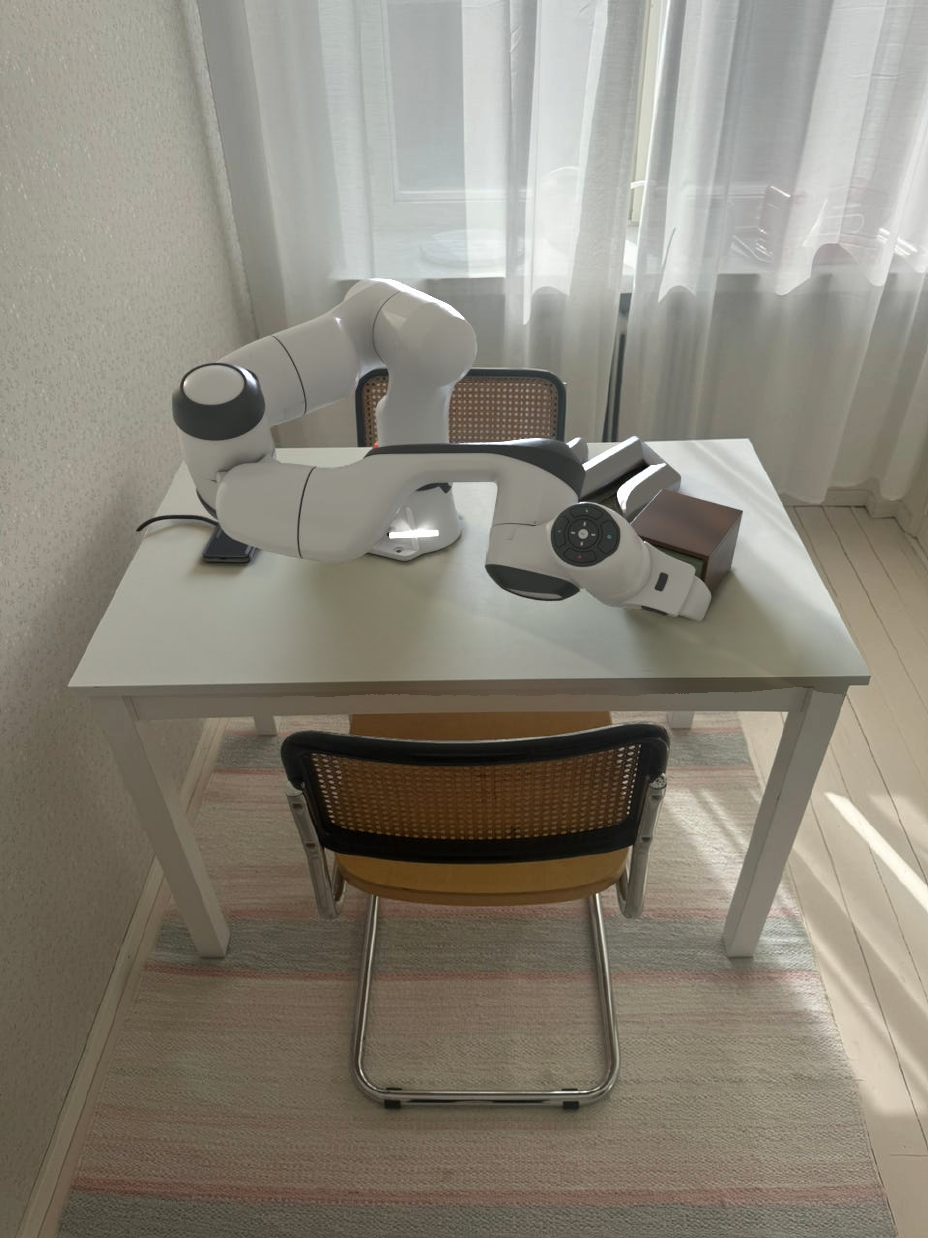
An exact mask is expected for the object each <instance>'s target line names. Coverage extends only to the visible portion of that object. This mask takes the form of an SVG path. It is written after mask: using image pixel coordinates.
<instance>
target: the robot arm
mask: <svg viewBox="0 0 928 1238" xmlns="http://www.w3.org/2000/svg"><path fill="white" fill-rule="evenodd" d="M477 353H478V341H477V334H476V332H475V329H474V328H473V326H472V325H471V323H470V322H469V321H468V320H467V319H466V318H465V317H464V316H463V315H461V313H460V312H459V311H457V310H456V309H455V308H454V307H452V306H451V305H449V304H448V303H446V302H444V301H442V300H439V299H437V298H434V297H432V296H430V295H428V294H427V293H424V292H421V291H419V290H416V289H414V288H412V287H410V286H408V285H405V284H402V283H401V282H399V281H396V280H392V279H385V278H364V279H362V280H359V281H358V282H356V283H355V284H354V285H352V286H351V287H350V289H348V291H347V293H346V294H345V296H344V298H343V300H342V302H340V303H339V304H337V305H336V306H334V307H333V308H331V309H330V310H329V311H326V312H325V313H323V314H322V315H319V316H317V317H315V318H314V319H310V320H308V321H305V322H302V323H299V324H297V325H294V326H291V327H289V328H286V329H283V330H280V331H278V332H276V333H273V334H270V335H266V336H264V337H261V338H259V339H256V340H254V341H252V342H250V343H248V344H245V345H243V346H241V347H239V348H237V349H236V350H234V351H231V352H230V353H229V354H226V355H225V356H223V357H221V358H220V359H218V360H216V361H215V362H210V363H209V362H208V363H204V364H201V365H197V366H195V367H193V368H192V369H190V370H189V371H187V372H186V373H185V374H183V376H182V377H181V378H179V380H178V381H177V382H176V383H175V385H174V386H173V390H172V396H171V411H172V412H171V413H172V419H173V422H174V423H175V425H176V430H177V438H178V442H179V443H178V444H179V448H180V451H181V455H182V459H183V461H184V463H185V465H186V466H187V469H188V472H189V475H190V477H191V479H192V482H193V484H194V486H195V492H196V496H197V498H198V501H199V502H200V503H201V505H202V507H203V508H204V509H205V511H206V512H207V513H208V514H209V515H210V516H211V517H212V518H213V519H212V518H209V517H207V516H204V515H203V516H202V515H198V514H164V515H159V516H155V517H150V518H149V519H147V520H145V521H143V522H142V523H141V524H139V526H138V527H137V528H136V529H135V532H137V533H139V532H141V531H143V530H144V529H145V528H147V526H149V525H151V524H154V523H156V522H160V521H165V520H166V521H167V520H197V521H202V522H205V523H208V524H211V525H213V526H215V527H217V525H218V523H219V524H220V526H221V528H222V529H223V531H224V532H225V533H226V534H227V535H228V536H229V537H231V538H232V539H234V540H237V541H239V542H242V543H245V544H247V545H250V546H253V547H256V549H258V550H261V551H266V552H270V553H272V554H277V555H282V556H285V557H289V558H295V559H299V560H307V561H314V562H320V563H338V564H342V563H349V562H353V561H355V560H357V559H359V558H361V557H363V556H364V555H366V554H367V553H368V554H373V555H376V556H380V557H385V558H388V559H393V560H397V561H402V562H406V561H411V560H413V559H415V558H417V557H420V556H421V555H423V554H428V553H432V552H436V551H440V550H441V549H444V548H446V547H448V546H450V545H452V544H453V543H454V542H456V541H457V540H458V539H459V537H460V536H461V534H462V530H463V525H462V523H461V520H460V518H459V514H458V511H457V506H456V502H455V496H454V491H453V485H454V483H493V484H495V485H496V497H495V502H494V503H495V505H494V510H493V515H492V520H491V527H490V529H489V534H488V541H487V546H486V554H485V560H484V561H485V563H484V569H485V571H486V573H487V574H488V576H489V577H490V579H491V580H492V581H493V582H494V583H495V584H496V585H497V586H498V587H499V588H500V589H502V590H504V591H506V592H508V593H509V594H513V595H515V596H518V597H521V598H525V599H528V600H533V601H538V602H539V601H540V602H560V601H564V600H567V599H569V598H571V597H574V596H575V595H577V594H578V593H580V592H581V590H582V589H584V590H585V591H586V592H587V593H588V594H590V595H591V596H592V597H593V598H595V600H597V601H599V602H600V603H601V604H604V605H606V606H608V607H612V608H626V609H631V610H633V609H635V610H644V611H647V612H652V613H655V612H656V614H658V613H659V615H661V614H663V615H662V616H669V617H672V618H677V617H678V616H680V617H683V618H686V619H689V620H692V621H694V622H702V621H703V619H704V618H705V616H706V614H707V611H708V608H709V606H710V603H711V601H712V597H711V593H710V591H709V590H708V588H707V586H706V585H705V584H704V582H703V581H702V580H700V579H699V578H698V577H696V576H695V568H694V567H693V566H692V565H690V564H688V563H685V562H684V561H682V560H679V559H677V558H674V557H672V556H670V555H668V554H665V553H663V552H661V551H659V550H658V549H656V548H655V547H653V546H652V545H650V544H649V543H647V542H646V541H644V542H643V540H642V539H641V538H640V537H639V536H638V535H637V533H636V531H635V530H634V529H633V527H632V526H631V525H630V524H629V523H628V522H627V521H626V520H625V519H624V518H623V517H622V516H621V515H619V514H618V513H616V510H614V509H611V508H609V507H607V506H606V505H603V504H600V503H599V504H597V503H592V502H580V503H578V502H579V500H580V496H581V492H582V488H583V484H584V480H585V476H586V471H585V469H584V467H583V465H582V463H581V461H580V459H579V458H578V456H577V455H576V453H575V452H574V451H573V450H572V449H571V447H570V446H569V445H567V442H564V441H561V440H557V439H553V438H539V437H537V438H525V439H517V440H516V439H515V440H509V441H497V442H495V441H494V442H450V420H449V419H450V404H451V399H452V395H453V391H454V390H455V389H454V388H455V386H456V384H457V383H458V382H460V381H461V380H463V379H464V378H465V377H466V376H467V374H468V373H469V372H470V370H471V368H472V367H473V364H474V363H475V361H476V360H475V359H476V356H477ZM377 368H386V369H387V372H388V384H387V391H386V393H385V395H384V396H382V397H381V399H380V400H379V401H378V402H377V405H376V407H375V411H374V412H375V413H374V414H375V415H374V416H375V425H376V436H377V440H376V442H374V445H373V446H372V448H371V449H369V450H368V452H366V454H365V455H364V456H363V457H362V459H359V460H357V461H355V462H351V463H349V464H345V465H341V466H333V467H326V466H325V467H324V466H317V465H309V464H304V463H303V464H302V463H290V462H281V461H279V460H277V450H276V444H275V439H274V437H273V436H272V431H271V428H272V427H274V426H278V425H282V424H284V423H288V422H290V421H293V420H296V419H298V418H301V417H304V416H306V415H308V414H312V413H314V412H316V411H318V410H319V411H320V410H321V409H323V408H326V407H329V406H331V405H333V404H337V403H338V402H341V401H343V400H346V399H348V398H350V397H352V395H353V394H355V392H356V390H357V388H358V385H359V383H360V382H359V381H360V380H361V379H362V378H363V377H364V376H365V375H367V374H368V373H370V372H371V371H373V370H376V369H377ZM214 519H215V520H214ZM216 520H217V521H216Z"/></svg>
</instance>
